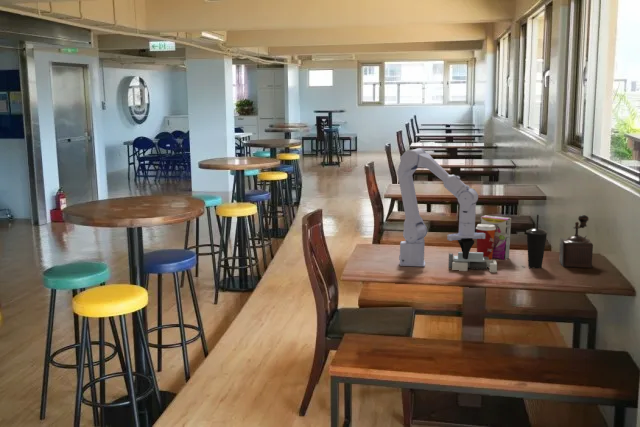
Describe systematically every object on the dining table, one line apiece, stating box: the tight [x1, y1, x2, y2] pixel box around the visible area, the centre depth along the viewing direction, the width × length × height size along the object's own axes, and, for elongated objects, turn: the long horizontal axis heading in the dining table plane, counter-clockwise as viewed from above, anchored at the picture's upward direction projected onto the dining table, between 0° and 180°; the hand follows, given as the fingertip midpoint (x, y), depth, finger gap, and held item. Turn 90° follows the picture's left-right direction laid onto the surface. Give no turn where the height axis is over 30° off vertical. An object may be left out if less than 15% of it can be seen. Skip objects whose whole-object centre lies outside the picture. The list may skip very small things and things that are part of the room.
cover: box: [453, 251, 484, 262], centre depth 249 cm, size 11×5×3 cm, turn 83°
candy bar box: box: [479, 214, 512, 261], centre depth 266 cm, size 11×5×16 cm, turn 56°
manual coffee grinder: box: [558, 214, 594, 269], centre depth 257 cm, size 16×11×18 cm
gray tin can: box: [469, 261, 488, 270], centre depth 250 cm, size 6×3×3 cm
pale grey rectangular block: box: [447, 252, 498, 273], centre depth 250 cm, size 17×8×6 cm, turn 81°
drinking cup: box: [525, 214, 548, 269], centre depth 251 cm, size 8×8×20 cm
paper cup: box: [475, 223, 496, 260], centre depth 262 cm, size 8×8×14 cm
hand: (465, 258), depth 246 cm, fingers closed, pressing on cover
